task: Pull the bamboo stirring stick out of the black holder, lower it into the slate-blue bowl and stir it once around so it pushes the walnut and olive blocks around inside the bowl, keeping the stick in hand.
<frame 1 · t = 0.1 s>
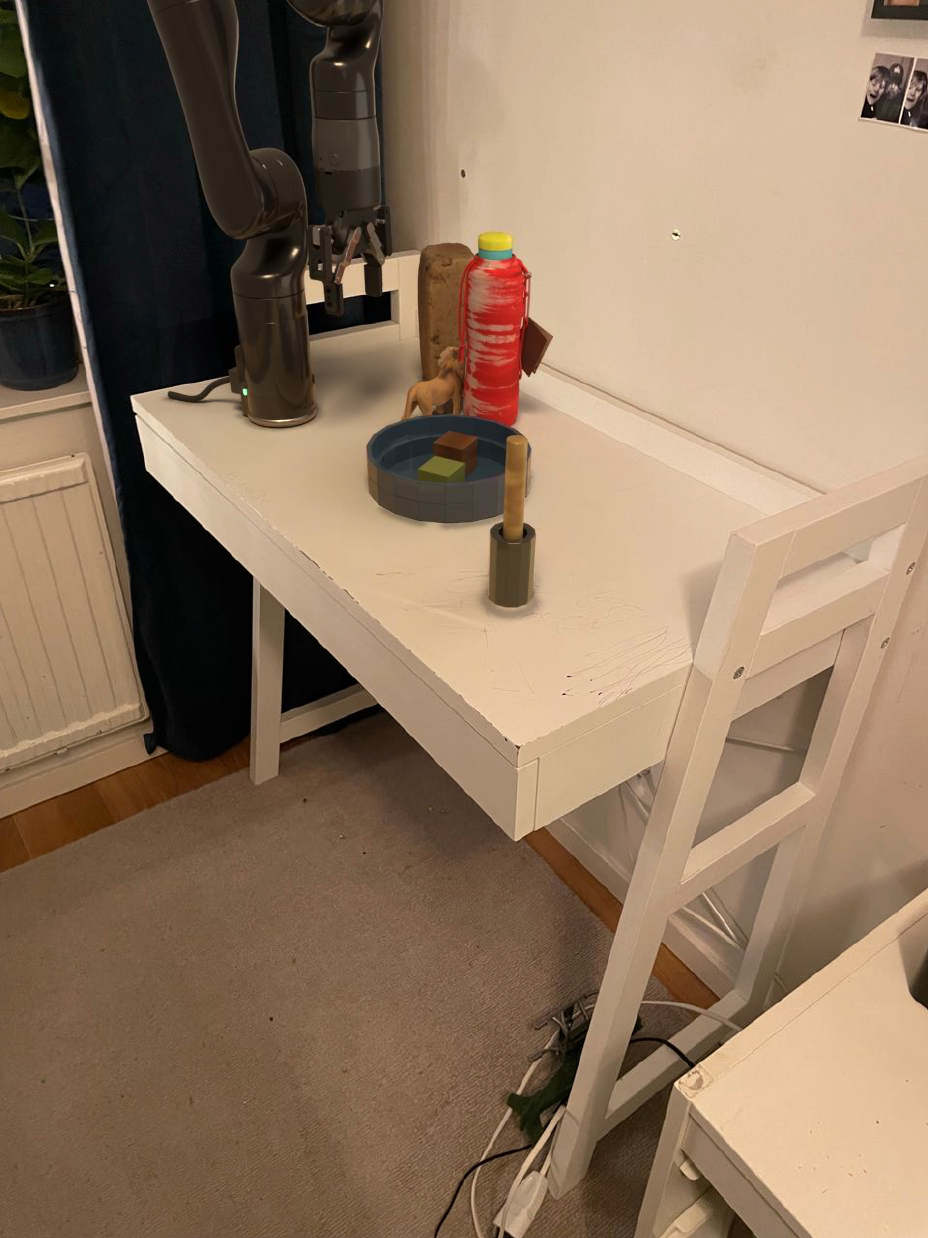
hand: (355, 304, 115), 17 cm above the table, tool pointing down, fingers open, 8 cm apart
olive block: (441, 496, 109), point 1 cm above the table, touching bowl
holder: (509, 601, 93), on the table
walnut block: (455, 469, 115), point 1 cm above the table, touching bowl
stirring stick: (509, 597, 93), resting on holder
bowl: (448, 488, 113), on the table
water bottle: (500, 425, 128), on the table
block: (446, 388, 139), on the table
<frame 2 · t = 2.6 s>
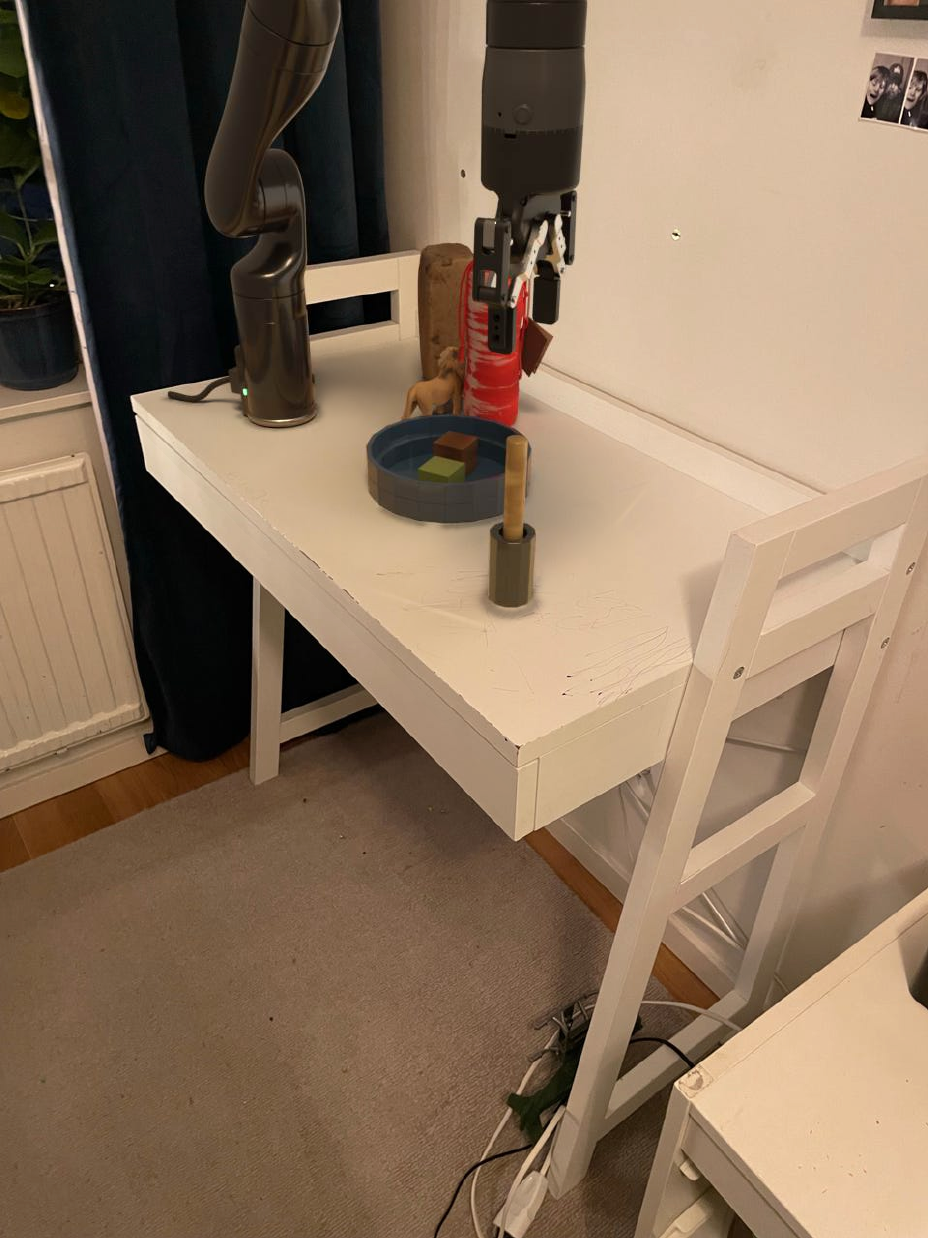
hand: (524, 336, 78), 27 cm above the table, tool pointing down, fingers open, 8 cm apart
nothing on the table moved.
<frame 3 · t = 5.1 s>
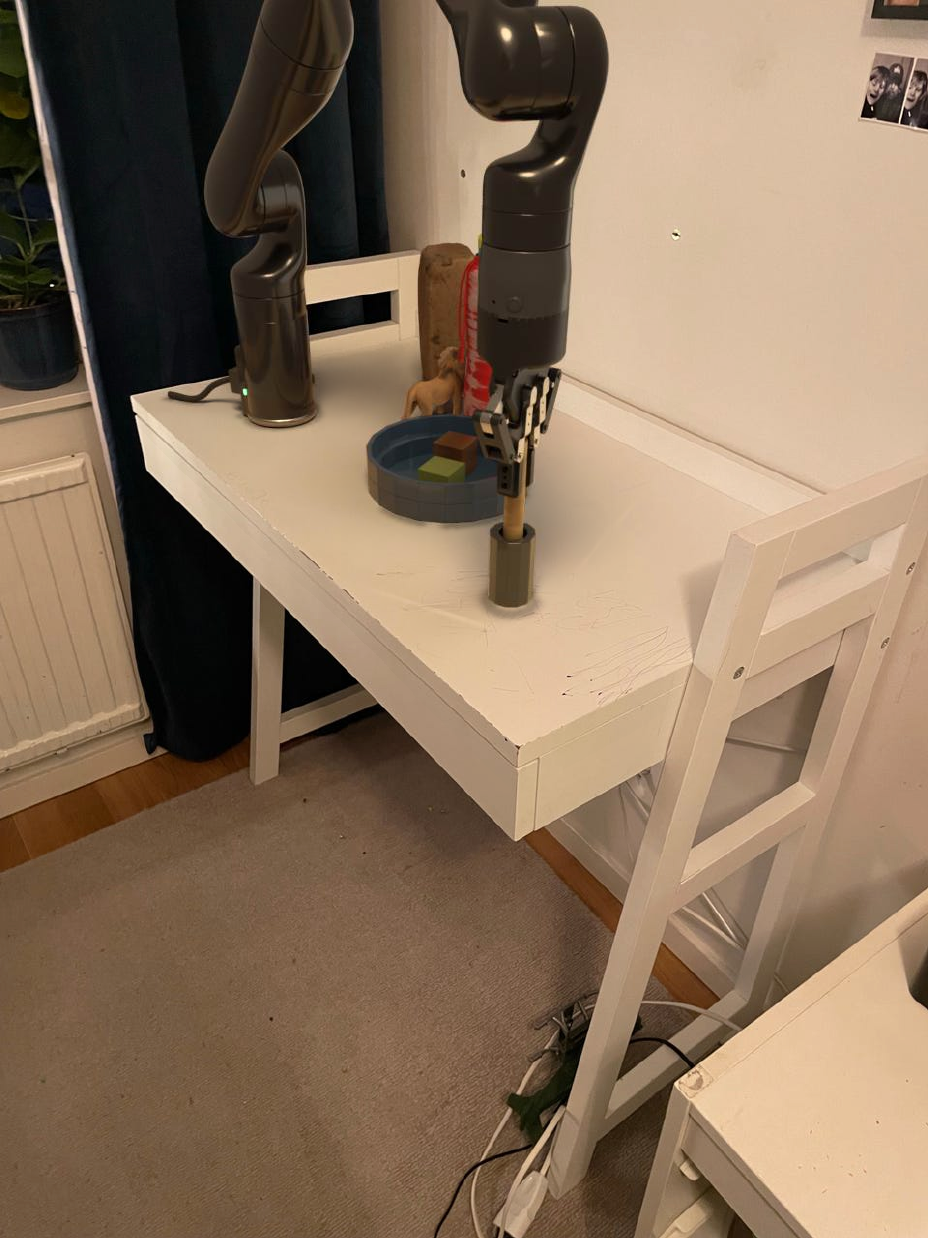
hand: (514, 488, 86), 13 cm above the table, tool pointing down, fingers closed on stirring stick, 2 cm apart
stirring stick: (509, 597, 93), point 1 cm above the table, touching gripper, holder
everything else where it was.
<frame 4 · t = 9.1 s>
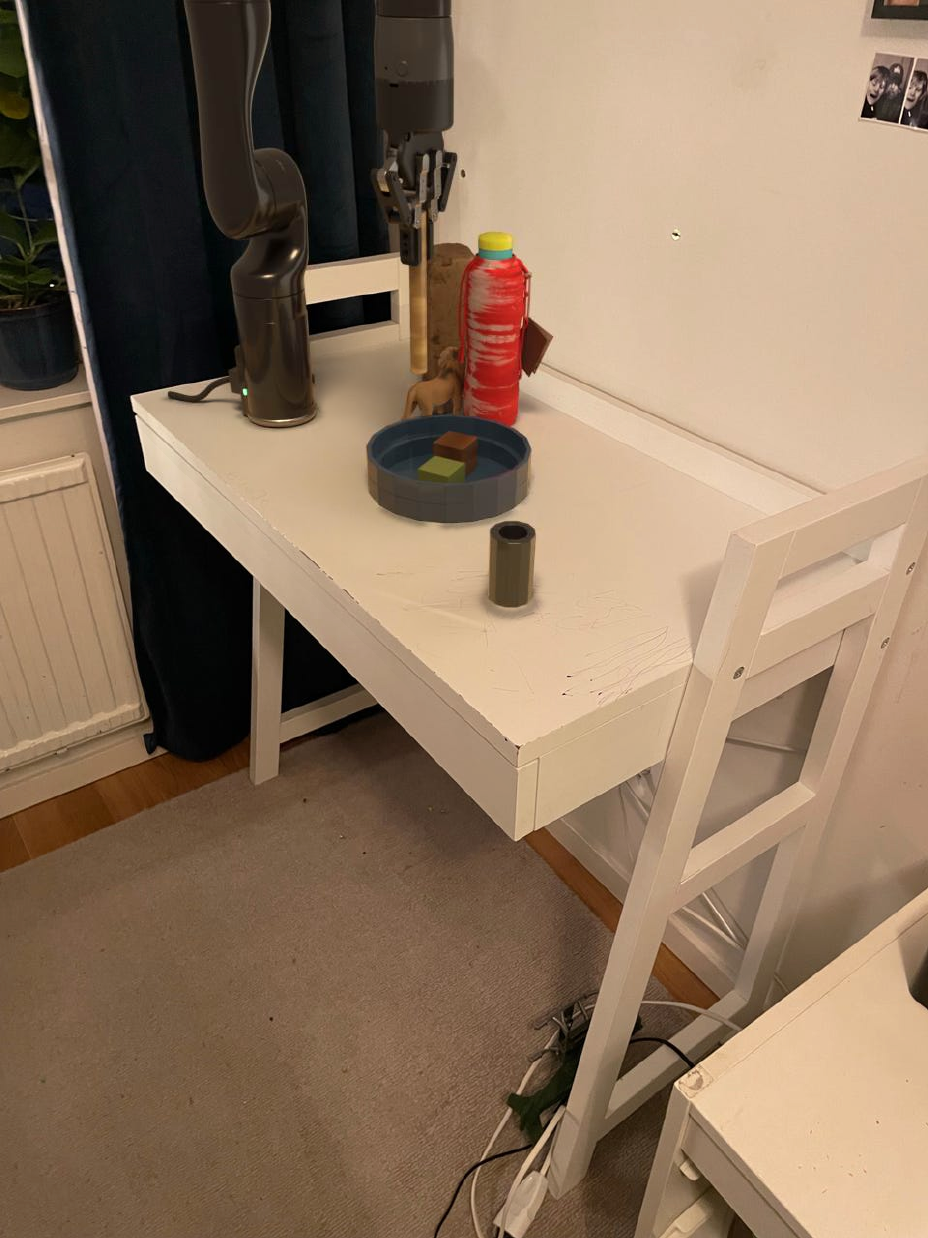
hand: (417, 261, 98), 26 cm above the table, tool pointing down, fingers closed on stirring stick
stirring stick: (419, 371, 105), point 14 cm above the table, touching gripper
everything else where it was.
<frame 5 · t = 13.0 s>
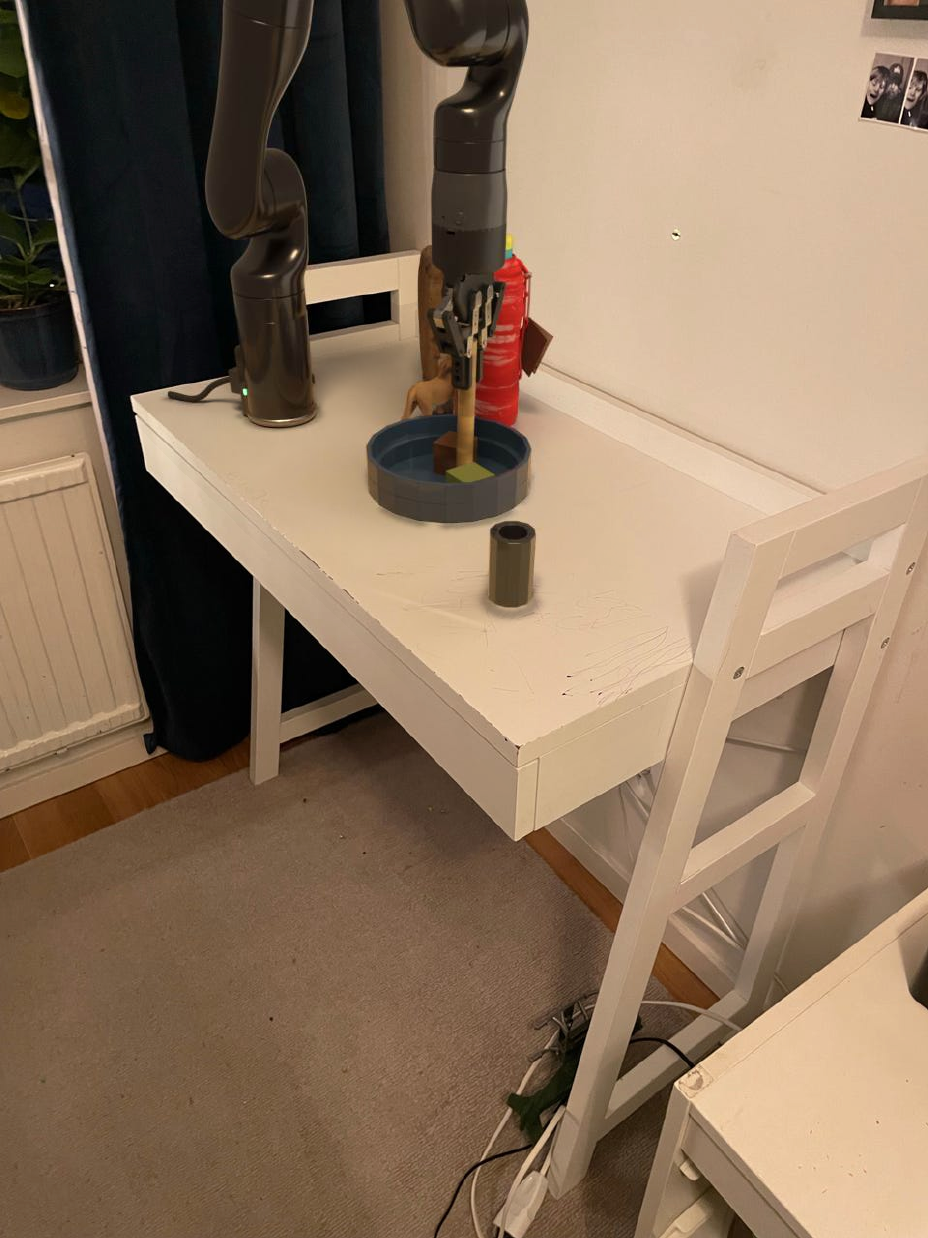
hand: (466, 383, 103), 14 cm above the table, tool pointing down, fingers closed on stirring stick, 2 cm apart
olive block: (469, 503, 108), point 1 cm above the table, touching bowl, stirring stick
stirring stick: (463, 481, 110), point 2 cm above the table, touching gripper, olive block
everything else where it was.
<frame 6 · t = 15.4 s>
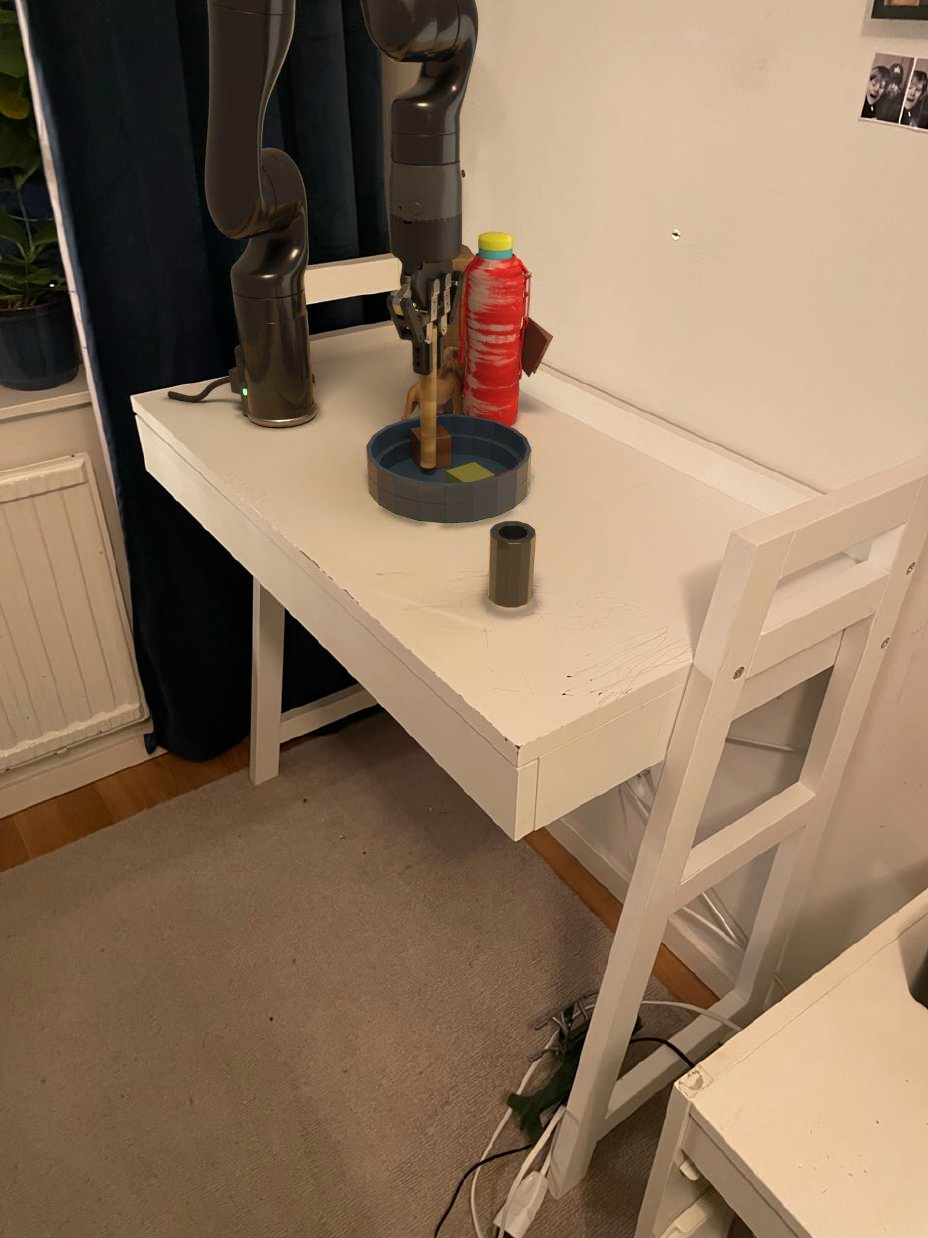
hand: (428, 369, 106), 14 cm above the table, tool pointing down, fingers closed on stirring stick, 2 cm apart
olive block: (469, 503, 108), point 1 cm above the table, touching bowl
walnut block: (430, 462, 117), point 1 cm above the table, touching bowl
stirring stick: (428, 465, 113), point 2 cm above the table, touching gripper
everything else where it was.
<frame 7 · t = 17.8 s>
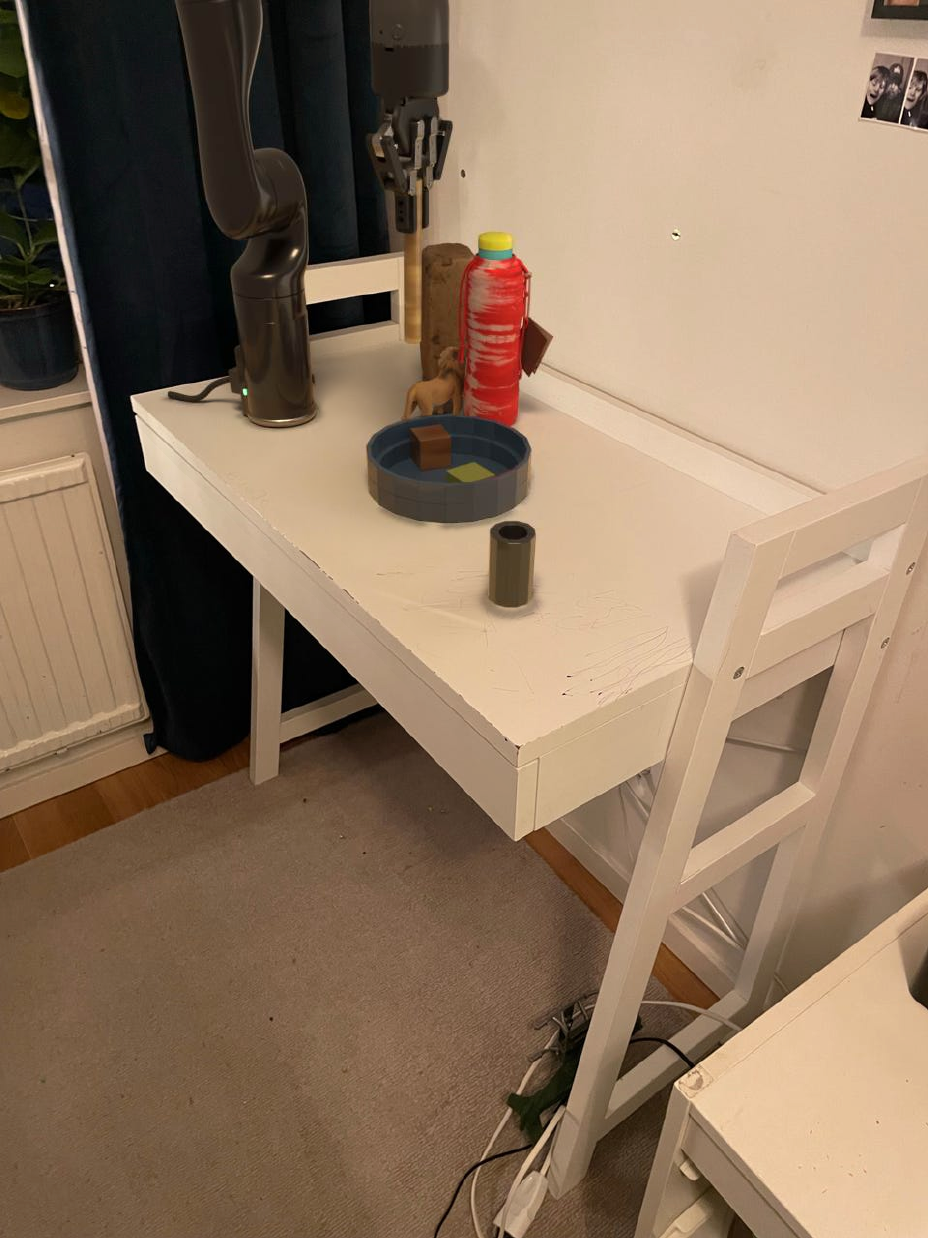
hand: (412, 229, 99), 29 cm above the table, tool pointing down, fingers closed on stirring stick
stirring stick: (412, 340, 106), point 17 cm above the table, touching gripper
everything else where it was.
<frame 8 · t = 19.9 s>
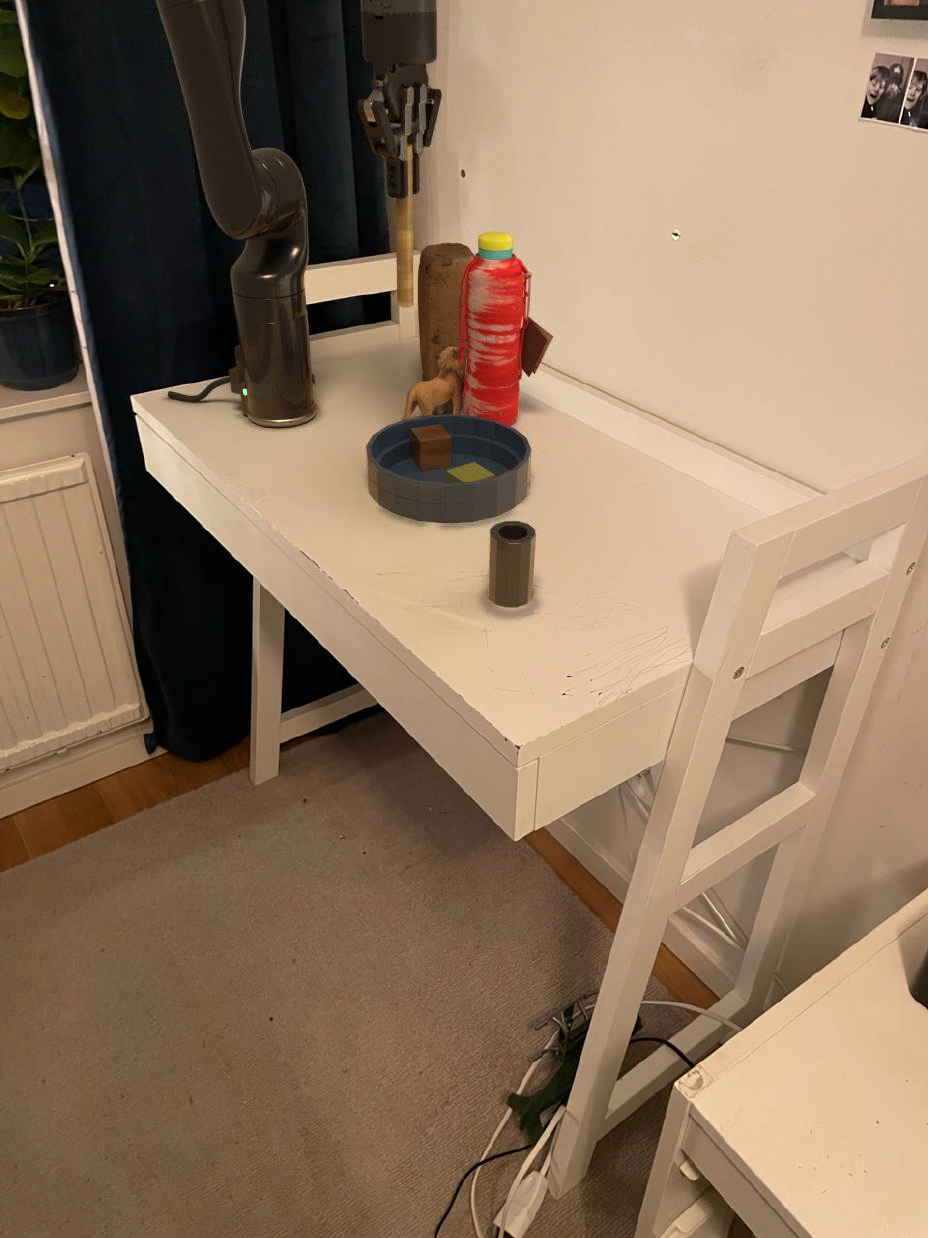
hand: (403, 194, 102), 31 cm above the table, tool pointing down, fingers closed on stirring stick
stirring stick: (405, 304, 110), point 19 cm above the table, touching gripper
everything else where it was.
at the end: olive block moved 3.7 cm from its start; olive block inside the target area in the bowl (5.8 cm from its centre), point 0.8 cm above the bowl's base; the gripper is holding stirring stick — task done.
